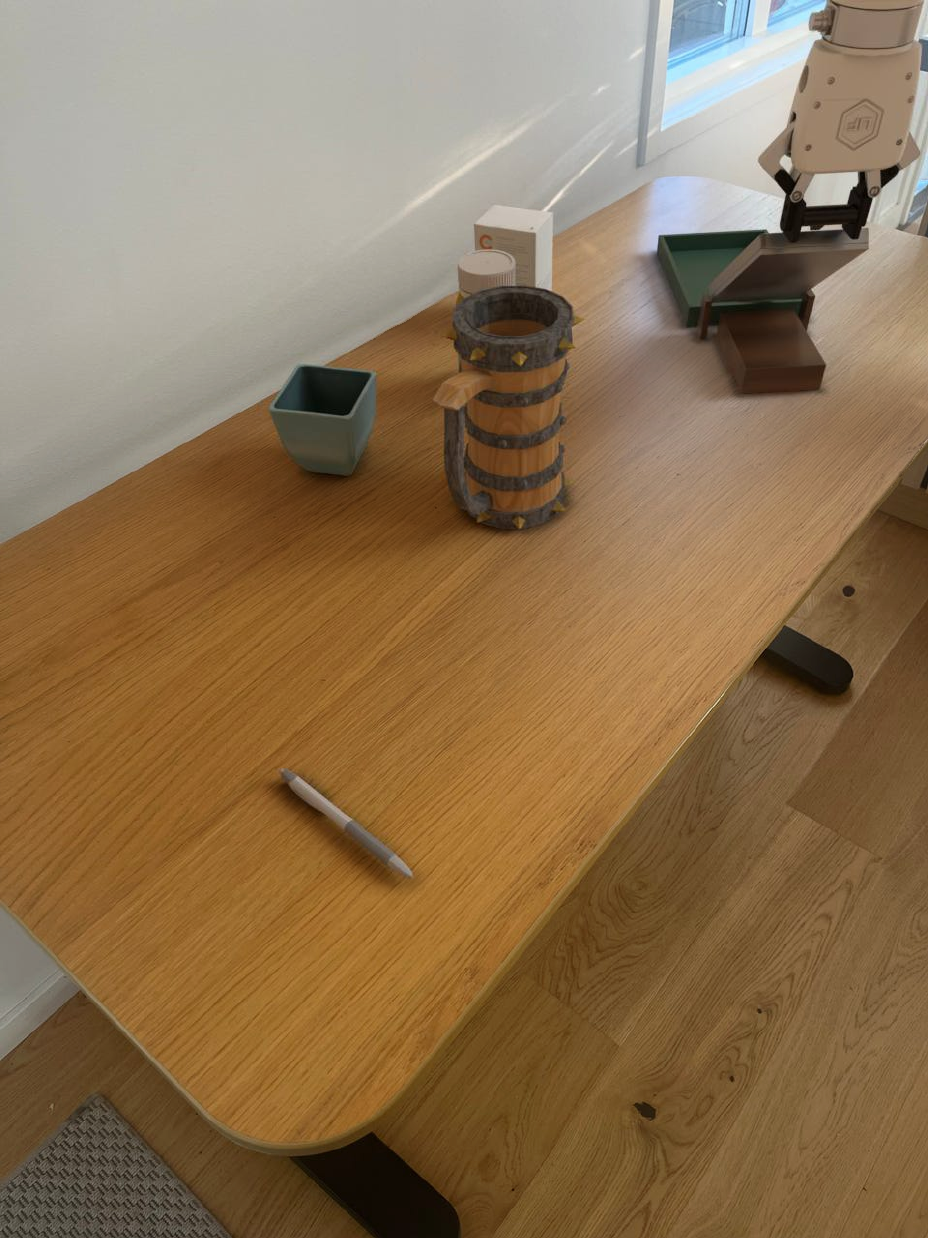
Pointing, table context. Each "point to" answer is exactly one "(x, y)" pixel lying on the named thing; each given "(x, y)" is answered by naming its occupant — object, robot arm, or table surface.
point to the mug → (507, 405)
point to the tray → (708, 271)
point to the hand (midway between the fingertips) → (820, 233)
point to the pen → (345, 823)
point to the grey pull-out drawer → (791, 259)
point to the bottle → (484, 272)
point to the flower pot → (325, 416)
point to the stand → (768, 347)
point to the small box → (520, 241)
